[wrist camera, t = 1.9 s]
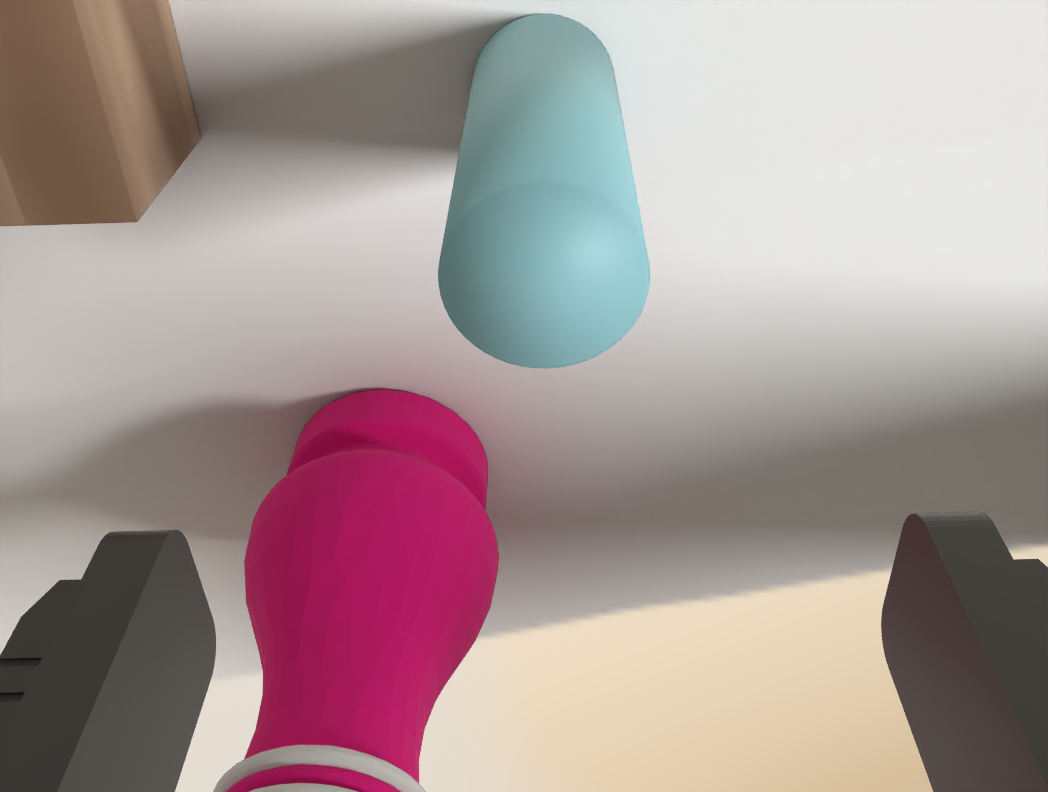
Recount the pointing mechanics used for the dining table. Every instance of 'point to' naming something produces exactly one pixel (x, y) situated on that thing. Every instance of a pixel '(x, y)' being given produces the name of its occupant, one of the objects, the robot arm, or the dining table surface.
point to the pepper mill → (364, 593)
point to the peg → (544, 202)
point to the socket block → (89, 109)
